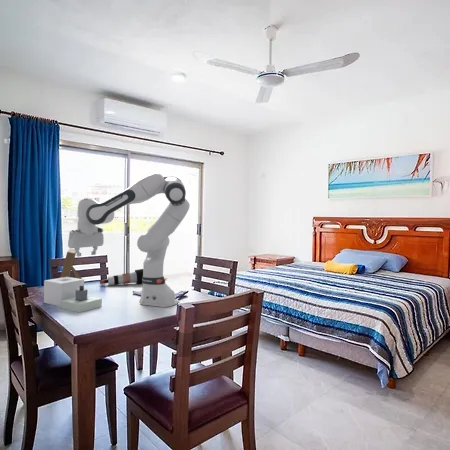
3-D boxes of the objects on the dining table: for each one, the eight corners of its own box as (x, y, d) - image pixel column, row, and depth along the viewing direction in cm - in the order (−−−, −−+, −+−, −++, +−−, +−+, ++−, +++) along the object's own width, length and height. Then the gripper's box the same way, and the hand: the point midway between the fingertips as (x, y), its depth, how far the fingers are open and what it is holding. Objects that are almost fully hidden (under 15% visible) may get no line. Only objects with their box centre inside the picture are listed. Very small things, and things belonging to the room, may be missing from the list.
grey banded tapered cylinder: (100, 291, 230) (99, 277, 234) (150, 283, 244) (148, 270, 247) (100, 287, 221) (99, 272, 225) (152, 279, 235) (150, 265, 239)
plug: (87, 304, 176) (87, 285, 176) (80, 306, 172) (81, 287, 172) (81, 303, 178) (82, 284, 177) (75, 305, 174) (75, 286, 174)
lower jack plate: (101, 306, 178) (101, 298, 178) (79, 312, 165) (79, 304, 165) (83, 302, 184) (83, 295, 184) (60, 308, 172) (60, 300, 172)
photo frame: (56, 293, 203) (56, 251, 202) (59, 286, 223) (60, 248, 223) (82, 292, 208) (83, 251, 207) (84, 285, 228) (85, 248, 228)
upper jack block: (83, 301, 187) (84, 279, 187) (61, 306, 175) (61, 283, 174) (66, 297, 194) (67, 276, 193) (43, 302, 181) (44, 280, 181)
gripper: (73, 230, 167) (73, 257, 168) (105, 229, 186) (105, 254, 186) (65, 229, 170) (65, 257, 171) (97, 228, 188) (97, 253, 189)
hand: (86, 255), depth 178 cm, fingers open, 8 cm apart
